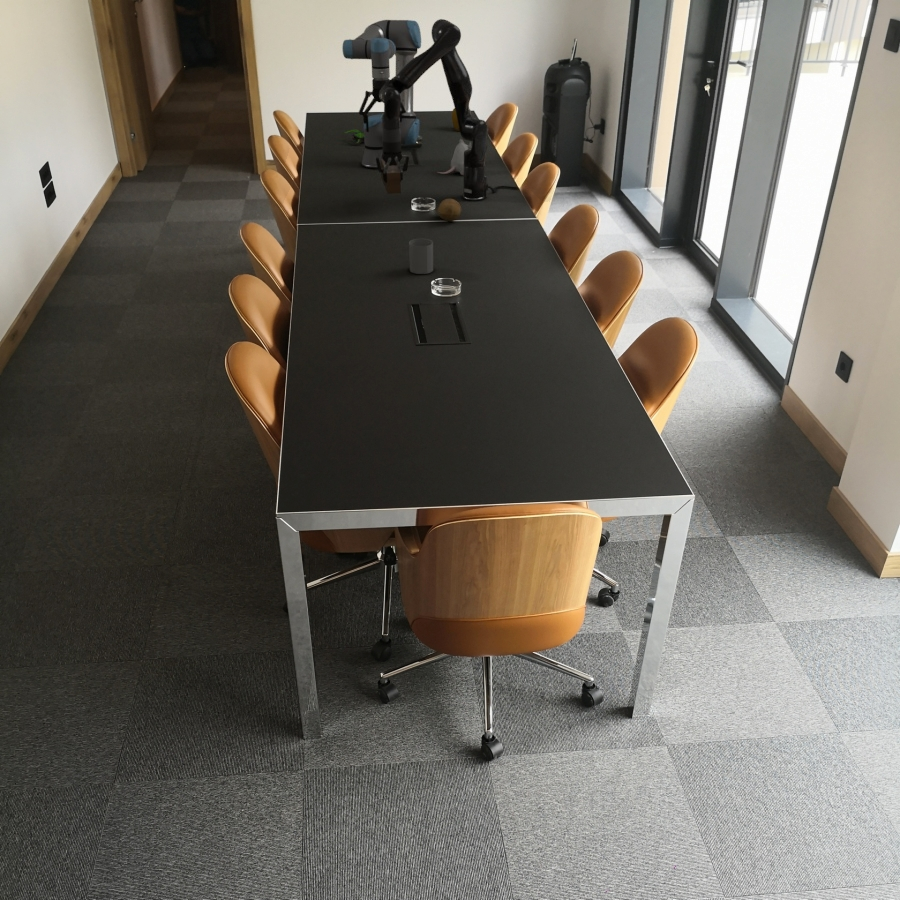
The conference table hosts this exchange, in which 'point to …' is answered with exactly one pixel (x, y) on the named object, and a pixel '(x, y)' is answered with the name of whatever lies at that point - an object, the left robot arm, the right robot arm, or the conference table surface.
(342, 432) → the conference table surface
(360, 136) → the green dinosaur figurine
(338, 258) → the conference table surface
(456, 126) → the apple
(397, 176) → the bar
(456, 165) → the toy
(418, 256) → the cup
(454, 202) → the potato
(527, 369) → the conference table surface
